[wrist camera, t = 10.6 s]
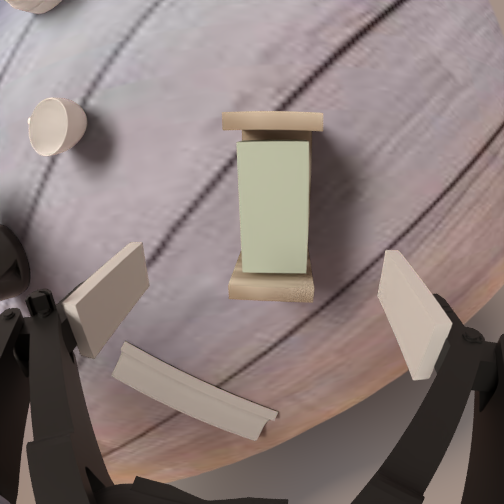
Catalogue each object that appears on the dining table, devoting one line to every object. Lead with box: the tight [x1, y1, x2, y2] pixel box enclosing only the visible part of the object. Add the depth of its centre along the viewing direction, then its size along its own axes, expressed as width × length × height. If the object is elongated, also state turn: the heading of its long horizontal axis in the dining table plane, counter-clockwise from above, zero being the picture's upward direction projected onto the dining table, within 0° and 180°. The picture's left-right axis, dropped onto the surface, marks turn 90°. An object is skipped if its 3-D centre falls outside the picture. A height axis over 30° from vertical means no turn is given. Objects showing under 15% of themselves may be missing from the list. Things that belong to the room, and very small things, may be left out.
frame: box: [222, 111, 323, 302], centre depth 31 cm, size 17×8×12 cm, turn 1°
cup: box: [28, 98, 87, 156], centre depth 32 cm, size 8×10×7 cm
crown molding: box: [112, 341, 278, 441], centre depth 52 cm, size 31×12×4 cm, turn 62°
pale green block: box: [237, 140, 309, 273], centre depth 29 cm, size 12×6×5 cm, turn 2°
